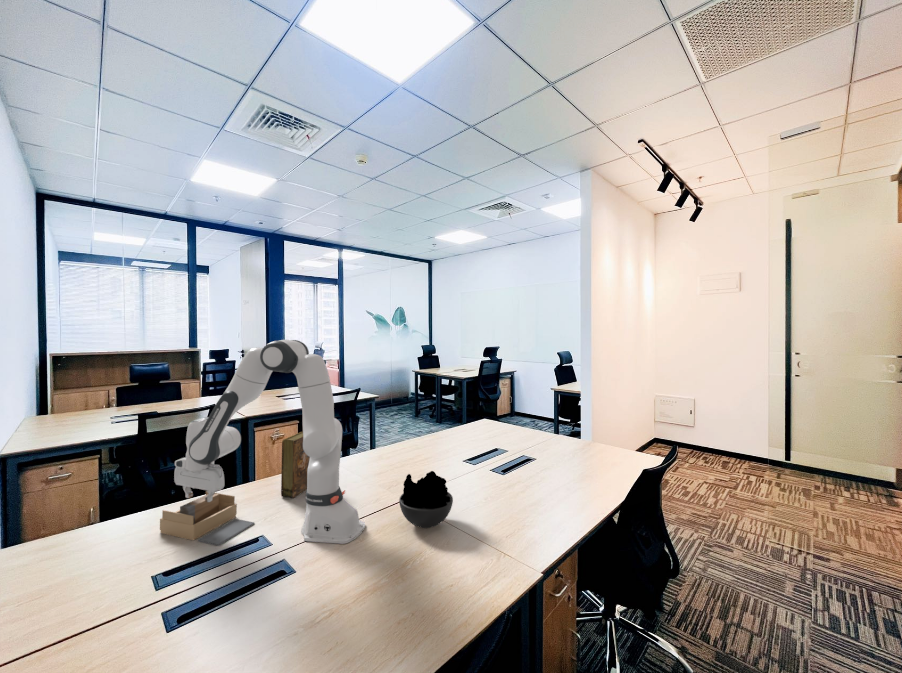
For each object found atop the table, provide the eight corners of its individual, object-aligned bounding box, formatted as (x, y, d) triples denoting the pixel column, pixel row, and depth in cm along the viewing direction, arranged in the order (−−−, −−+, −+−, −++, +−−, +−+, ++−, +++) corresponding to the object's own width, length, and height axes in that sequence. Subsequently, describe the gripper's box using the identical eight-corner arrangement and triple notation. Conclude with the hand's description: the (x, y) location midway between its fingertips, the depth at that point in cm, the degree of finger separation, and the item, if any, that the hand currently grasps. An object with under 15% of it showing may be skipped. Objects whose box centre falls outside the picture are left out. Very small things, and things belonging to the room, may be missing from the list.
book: (303, 483, 175) (304, 430, 175) (314, 484, 174) (314, 431, 174) (281, 498, 159) (281, 440, 159) (292, 499, 158) (293, 440, 158)
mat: (254, 524, 137) (254, 522, 137) (218, 545, 123) (218, 544, 123) (235, 520, 140) (235, 518, 140) (197, 541, 125) (197, 539, 125)
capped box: (218, 517, 141) (218, 494, 141) (188, 533, 130) (188, 508, 130) (210, 516, 142) (210, 492, 142) (179, 531, 131) (180, 506, 131)
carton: (236, 517, 142) (236, 496, 142) (194, 540, 126) (194, 517, 126) (204, 510, 147) (205, 490, 147) (159, 532, 130) (160, 510, 130)
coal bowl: (460, 518, 144) (461, 470, 144) (437, 544, 125) (438, 489, 125) (416, 507, 152) (416, 462, 152) (388, 530, 134) (389, 479, 134)
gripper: (229, 462, 136) (228, 500, 136) (187, 455, 142) (186, 491, 142) (214, 468, 130) (213, 507, 130) (171, 461, 136) (169, 498, 136)
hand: (198, 499), depth 136 cm, fingers open, 8 cm apart
